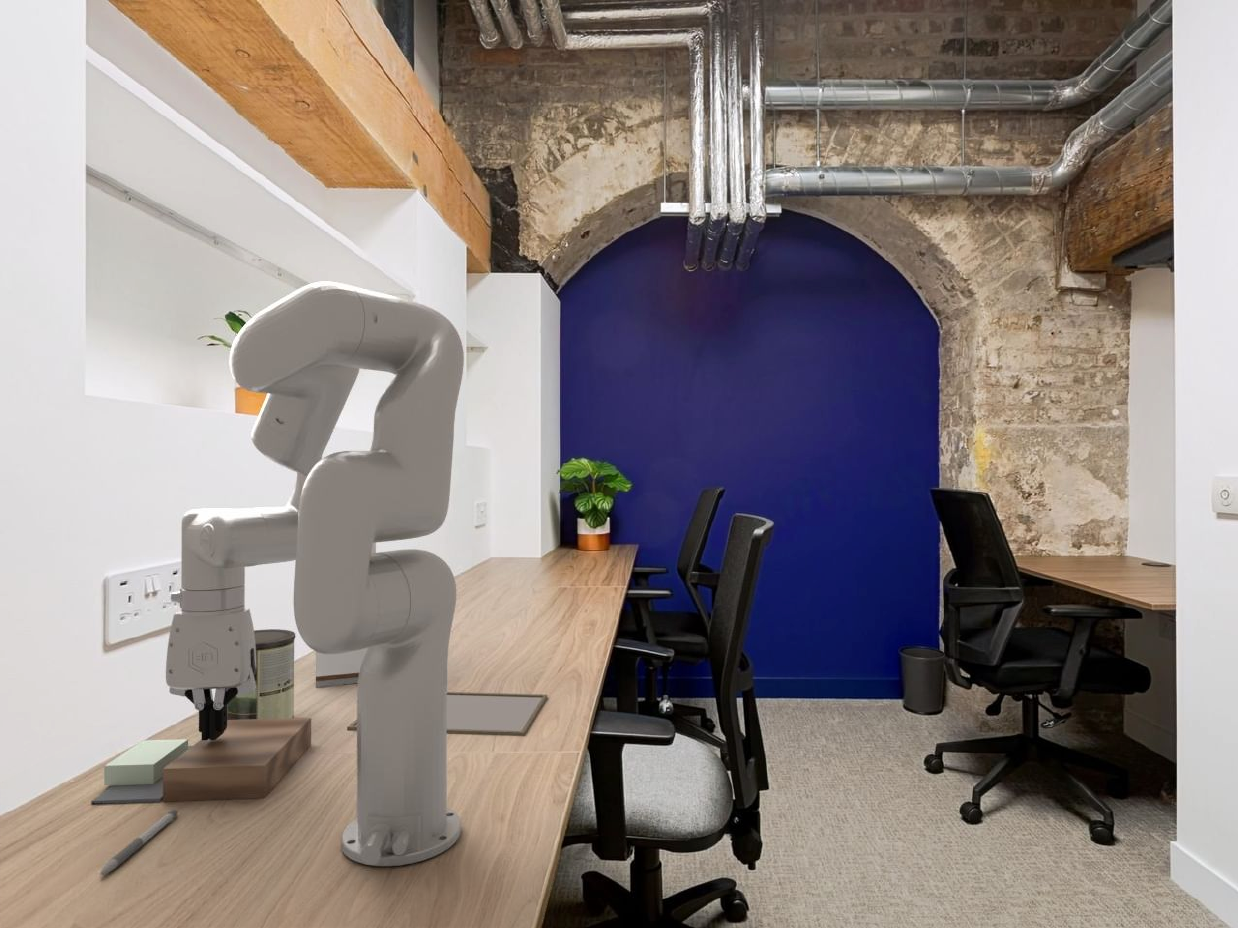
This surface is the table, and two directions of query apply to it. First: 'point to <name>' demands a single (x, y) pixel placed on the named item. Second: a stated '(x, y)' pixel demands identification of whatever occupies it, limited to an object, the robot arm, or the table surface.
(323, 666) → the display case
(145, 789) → the mat
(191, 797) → the brown wooden flat block
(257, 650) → the coffee can
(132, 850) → the pen
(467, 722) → the picture frame
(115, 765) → the block
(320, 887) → the table surface
